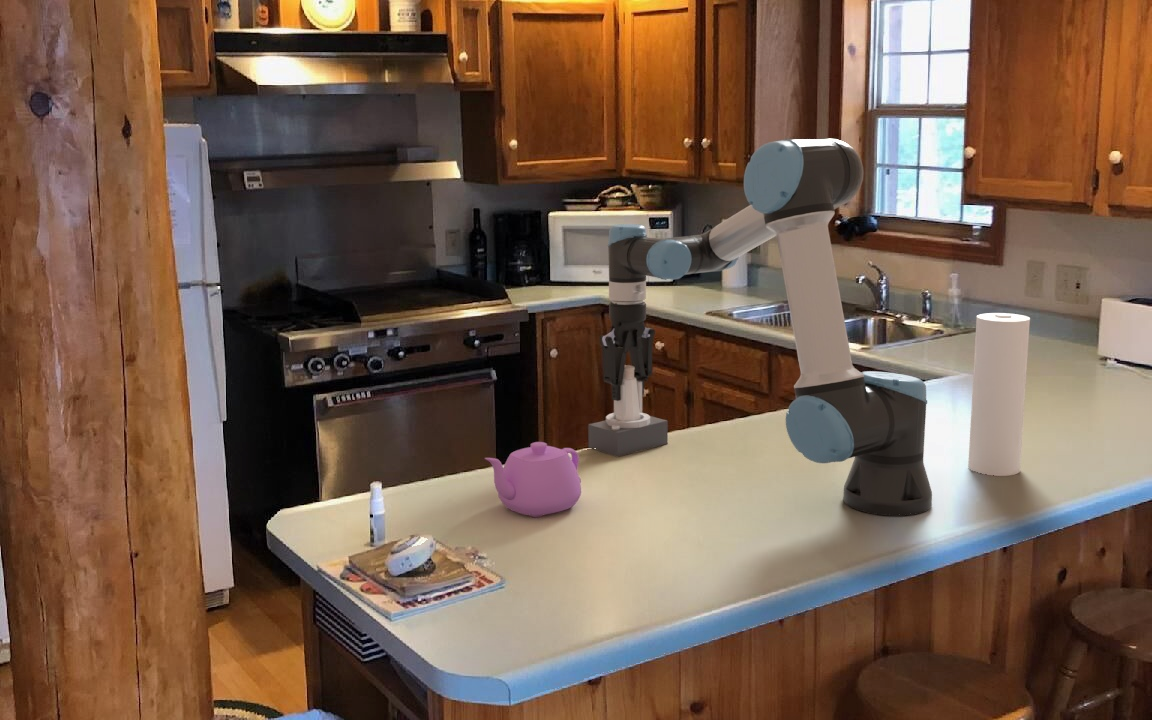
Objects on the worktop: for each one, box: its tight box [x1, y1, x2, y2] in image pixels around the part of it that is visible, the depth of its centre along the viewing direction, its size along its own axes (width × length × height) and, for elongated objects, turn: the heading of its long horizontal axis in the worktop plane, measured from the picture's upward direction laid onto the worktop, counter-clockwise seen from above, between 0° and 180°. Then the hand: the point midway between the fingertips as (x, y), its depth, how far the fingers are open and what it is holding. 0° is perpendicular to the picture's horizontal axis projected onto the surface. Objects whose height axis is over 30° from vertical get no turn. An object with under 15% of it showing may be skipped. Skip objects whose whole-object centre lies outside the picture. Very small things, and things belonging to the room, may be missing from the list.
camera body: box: [587, 412, 669, 458], centre depth 247 cm, size 14×9×6 cm, turn 130°
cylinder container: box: [967, 312, 1031, 477], centre depth 226 cm, size 9×9×30 cm
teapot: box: [484, 441, 582, 518], centre depth 208 cm, size 20×13×12 cm, turn 128°
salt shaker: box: [616, 364, 640, 421], centre depth 245 cm, size 5×5×11 cm
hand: (628, 412), depth 246 cm, fingers closed on salt shaker, 4 cm apart
